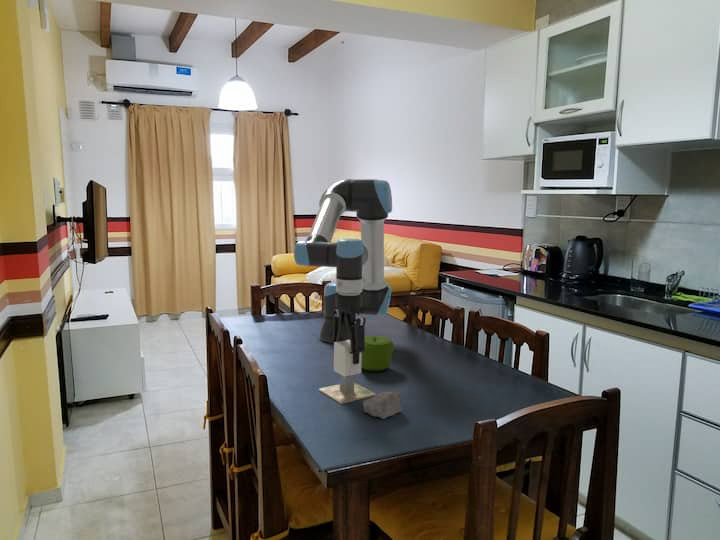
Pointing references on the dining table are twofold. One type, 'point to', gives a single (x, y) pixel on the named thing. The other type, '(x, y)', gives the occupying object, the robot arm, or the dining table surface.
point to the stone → (383, 405)
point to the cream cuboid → (343, 357)
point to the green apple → (377, 353)
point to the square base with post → (346, 390)
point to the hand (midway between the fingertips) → (347, 370)
